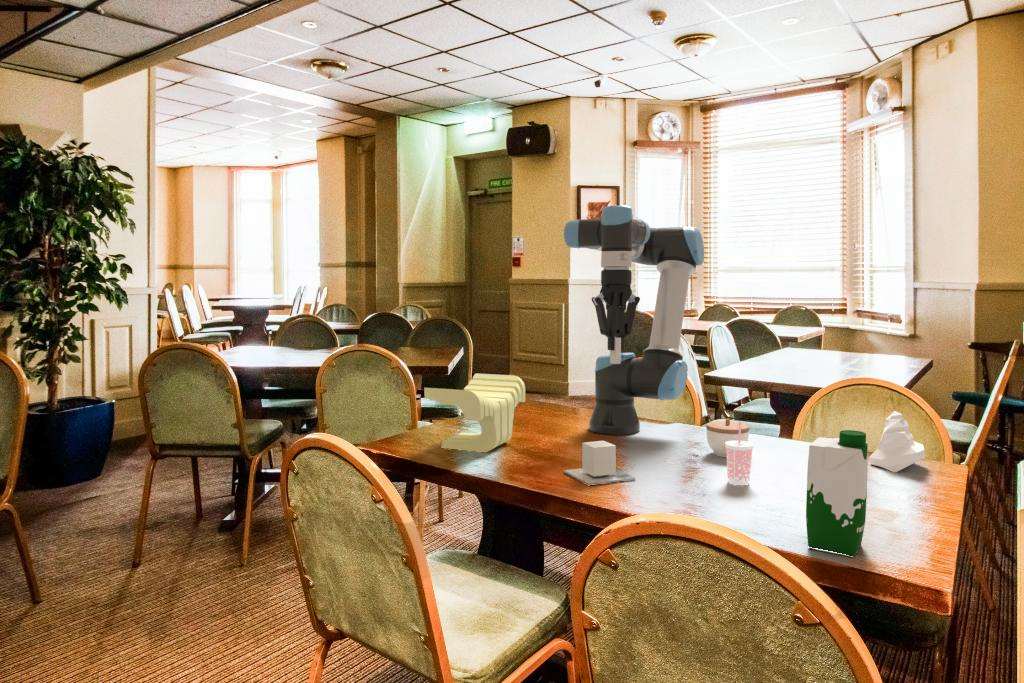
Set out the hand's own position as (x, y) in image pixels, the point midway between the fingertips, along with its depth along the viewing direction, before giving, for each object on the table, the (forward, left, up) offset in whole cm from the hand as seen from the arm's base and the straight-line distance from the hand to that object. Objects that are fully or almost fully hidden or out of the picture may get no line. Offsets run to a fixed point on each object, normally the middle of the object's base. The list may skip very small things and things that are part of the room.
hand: (615, 363), depth 180 cm
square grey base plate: (+12, +13, -24) cm, 30 cm away
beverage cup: (-14, +30, -25) cm, 41 cm away
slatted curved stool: (+27, -27, -25) cm, 45 cm away
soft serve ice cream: (-59, +34, -25) cm, 72 cm away
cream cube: (+12, +13, -23) cm, 29 cm away
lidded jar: (-29, +8, -25) cm, 39 cm away
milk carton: (-3, +67, -25) cm, 71 cm away
